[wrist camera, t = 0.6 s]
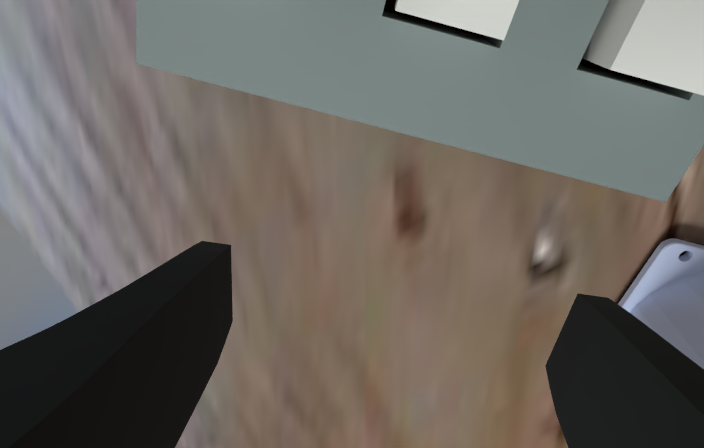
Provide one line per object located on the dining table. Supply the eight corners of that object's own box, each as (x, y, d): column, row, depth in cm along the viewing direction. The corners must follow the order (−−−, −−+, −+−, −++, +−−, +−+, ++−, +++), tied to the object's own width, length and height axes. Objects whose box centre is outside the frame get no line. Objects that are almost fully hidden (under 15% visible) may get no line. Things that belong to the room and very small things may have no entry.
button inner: (723, -24, 13) (791, -24, 11) (664, 80, 14) (713, 98, 12) (626, -52, 13) (674, -58, 11) (576, 55, 14) (609, 69, 12)
